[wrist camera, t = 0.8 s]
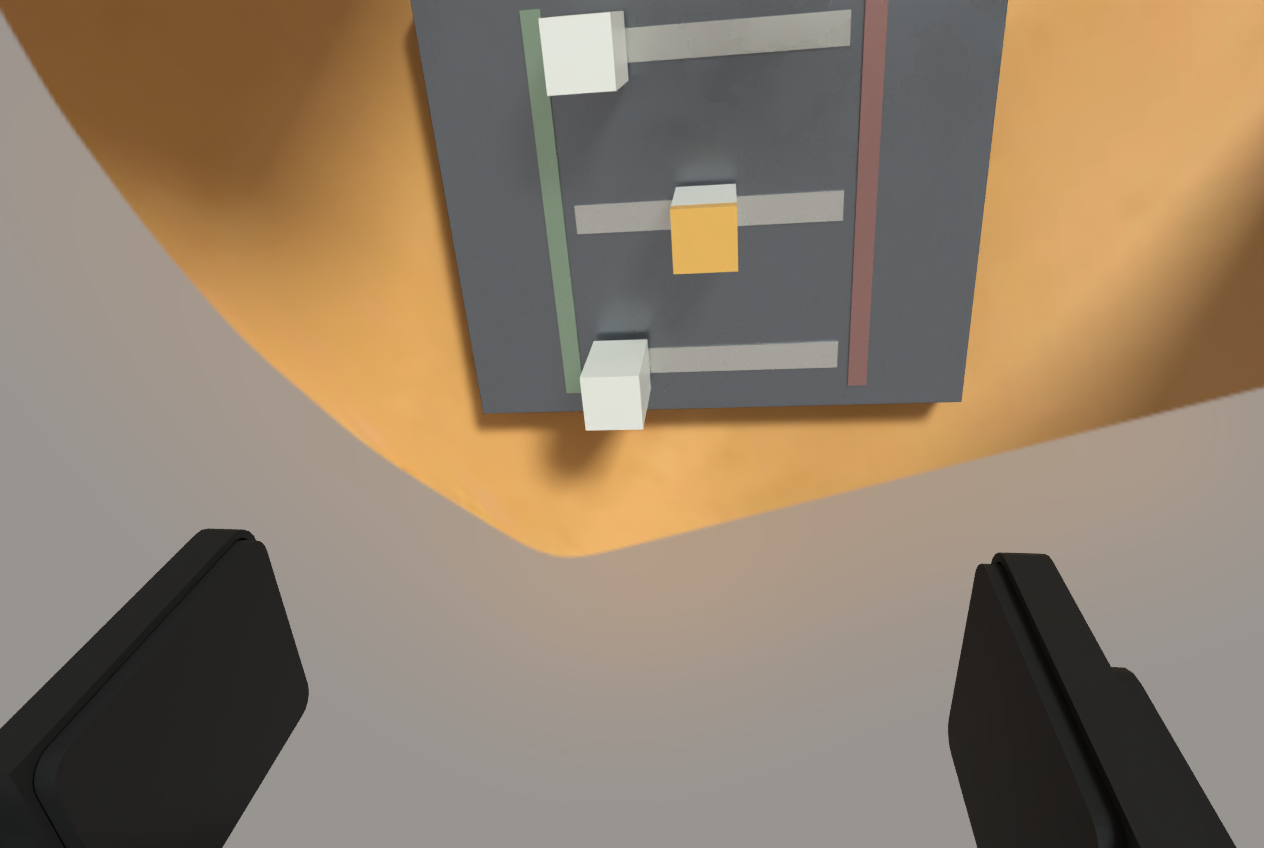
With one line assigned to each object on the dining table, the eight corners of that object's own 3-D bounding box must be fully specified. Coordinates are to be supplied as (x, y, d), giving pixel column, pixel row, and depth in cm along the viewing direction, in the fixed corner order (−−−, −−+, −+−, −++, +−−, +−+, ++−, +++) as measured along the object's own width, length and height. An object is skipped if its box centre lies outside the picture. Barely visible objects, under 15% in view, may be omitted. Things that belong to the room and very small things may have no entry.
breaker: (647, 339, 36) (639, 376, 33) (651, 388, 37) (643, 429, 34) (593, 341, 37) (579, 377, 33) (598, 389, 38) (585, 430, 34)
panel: (998, -62, 30) (1016, -66, 28) (950, 383, 38) (962, 403, 37) (425, -10, 33) (407, -10, 31) (493, 395, 41) (482, 414, 39)
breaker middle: (735, 183, 33) (736, 205, 29) (736, 242, 34) (738, 271, 30) (675, 187, 33) (670, 209, 30) (678, 245, 34) (673, 274, 31)
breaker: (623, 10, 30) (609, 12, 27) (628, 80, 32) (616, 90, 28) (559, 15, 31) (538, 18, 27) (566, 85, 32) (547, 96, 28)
